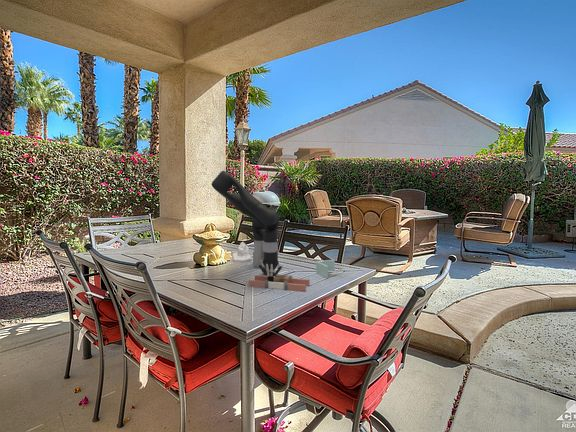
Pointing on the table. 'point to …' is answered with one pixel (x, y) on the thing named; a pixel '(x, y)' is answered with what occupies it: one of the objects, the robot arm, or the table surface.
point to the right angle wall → (326, 268)
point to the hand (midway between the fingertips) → (270, 283)
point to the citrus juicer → (242, 254)
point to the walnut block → (282, 278)
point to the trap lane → (293, 285)
